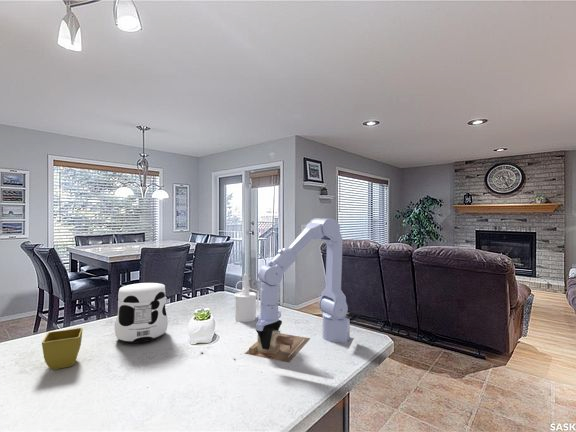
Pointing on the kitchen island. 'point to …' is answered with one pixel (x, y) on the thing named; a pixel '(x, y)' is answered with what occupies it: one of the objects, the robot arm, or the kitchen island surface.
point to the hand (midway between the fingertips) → (268, 346)
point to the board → (281, 349)
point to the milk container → (141, 312)
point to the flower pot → (62, 348)
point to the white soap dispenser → (245, 303)
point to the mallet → (275, 343)
